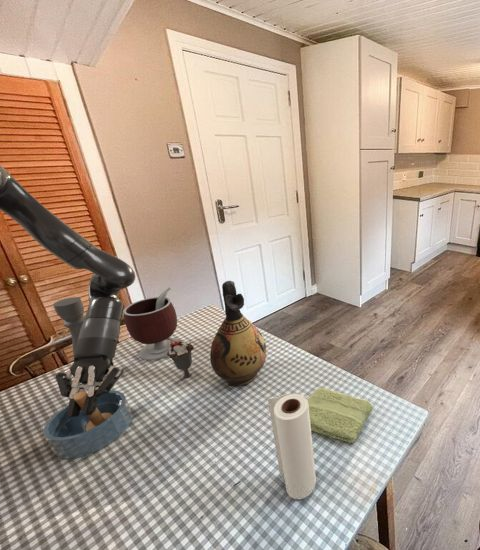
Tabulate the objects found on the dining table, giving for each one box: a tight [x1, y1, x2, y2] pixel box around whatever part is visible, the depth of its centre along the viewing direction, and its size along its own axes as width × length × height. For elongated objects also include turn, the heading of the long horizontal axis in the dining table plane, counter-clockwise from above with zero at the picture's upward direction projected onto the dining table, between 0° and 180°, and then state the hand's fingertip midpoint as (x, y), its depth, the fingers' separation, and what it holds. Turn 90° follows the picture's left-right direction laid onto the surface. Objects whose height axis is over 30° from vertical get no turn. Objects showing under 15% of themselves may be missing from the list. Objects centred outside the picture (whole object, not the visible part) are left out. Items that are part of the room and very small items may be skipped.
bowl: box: [42, 389, 133, 460], centre depth 72 cm, size 15×15×6 cm
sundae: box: [167, 337, 195, 380], centre depth 89 cm, size 7×7×15 cm
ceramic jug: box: [209, 280, 268, 388], centre depth 88 cm, size 17×15×30 cm
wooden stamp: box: [74, 390, 112, 431], centre depth 71 cm, size 5×5×12 cm
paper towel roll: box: [267, 393, 317, 500], centre depth 58 cm, size 7×6×21 cm
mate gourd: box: [123, 287, 181, 361], centre depth 102 cm, size 16×14×20 cm
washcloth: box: [306, 387, 374, 444], centre depth 77 cm, size 13×18×3 cm
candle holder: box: [52, 296, 86, 355], centre depth 89 cm, size 6×6×25 cm
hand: (80, 415), depth 68 cm, fingers closed on wooden stamp, 2 cm apart
